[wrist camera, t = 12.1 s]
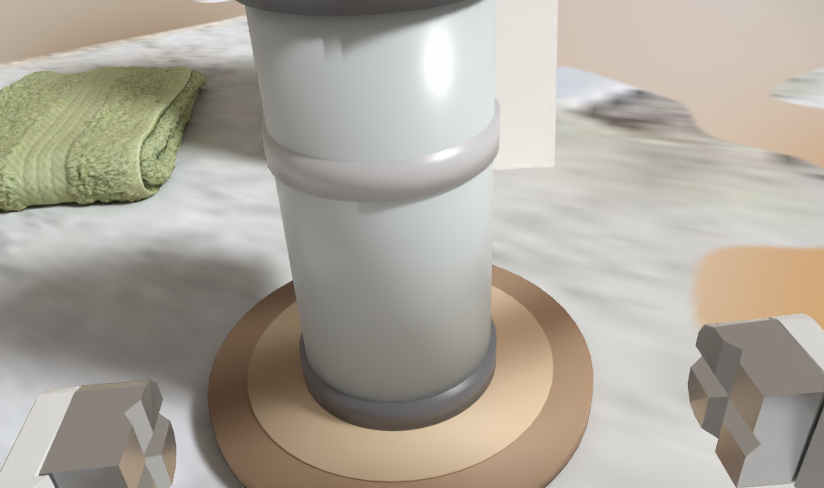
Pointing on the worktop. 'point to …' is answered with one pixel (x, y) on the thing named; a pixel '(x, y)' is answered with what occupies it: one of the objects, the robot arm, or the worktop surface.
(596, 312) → the worktop surface
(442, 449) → the trivet
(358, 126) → the french press
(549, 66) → the milk
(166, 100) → the washcloth
